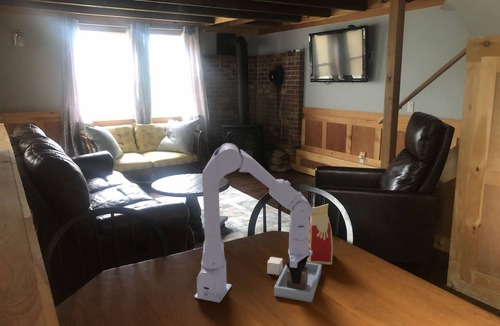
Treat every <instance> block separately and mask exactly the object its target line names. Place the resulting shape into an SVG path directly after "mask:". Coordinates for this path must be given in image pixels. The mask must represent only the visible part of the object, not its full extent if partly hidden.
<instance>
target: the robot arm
mask: <svg viewBox="0 0 500 326" xmlns="http://www.w3.org/2000/svg"><path fill="white" fill-rule="evenodd" d="M237 170H238V172H240V173H249V174H251V175H252V176H253V177H254V178H255V179H256V180H258V181H259V182H261V183H262V184H263V185H265V186H266V187H267V188H268V191H269V193H268V194H269V196H271V197H272V198H273V199H274V200H276V201H277V202H278V204H280V205H282V207H284V208H285V209H287V210H289V211H290V213H289V225H288V226H289V227H288V229H289V232H288V233H289V235H288V236H289V237H288V250H287V252H288V253H287V254H288V255H289V256H288V257H289V258H288V259H286V261H285V265H287V267H288V269H289V271H290V274H291V279H292V282H293V283H296V284H299V283H300V280H301V275H302V271H303V269H304V267H305V265H306V262H308V260H307V259H308V257H309V256H311V255H312V251H310V250H308V245H309V222H310V216H311V214H312V210H311V208H312V206H311V204H310V202H309V201H308V199H307V198H306V197H305V195H303V194H302V192H300V191H297V190H296V189H294V188H293V186H291V182H290V181H288V180H285V179H282V178H277V179H276V178H275V177H274V176H273V175H272V174H271V173H269V171H267V170H266V169H265V168H264V167H263V166H262V165H261V164H260V163H259V162H258V161H256V159H255V158H253V157H252V156H251V155H249V154H248V153H247V152H246V151H244V150H243V149H239V147H238V146H237V145H236V144H234V143H231V142H230V143H229V142H226V143H223V144H221V146H219V147H217V148H216V149H215V151H214V152H213V154H212V155H211V158H210V159H209V160H208V162H207V164H206V165H205V166H204V169H203V170H202V179H201V180H202V198H203V201H202V202H203V217H204V218H203V219H204V220H203V221H204V222H203V223H204V241H203V244H202V256H201V257H202V258H201V262H200V264H201V269H200V271H199V273H198V275H197V278H196V294H194V299H195V298H196V299H199V300H204V301H209V302H210V301H211V302H214V303H220V302H221V301H222V300H224V299H223V298H224V297H225V296H226V295H227V293H228V292H229V291H230V289H231V287H232V284H230V283H227V260H226V258H225V257H226V256H225V250H224V248H225V243H224V240H223V239H222V236H221V214H220V212H221V210H220V186H219V185H220V184H219V182H220V181H221V180H222V179H223V178H224V177H225V176H226V175H228V174H230V173H233V172H235V171H237Z"/></svg>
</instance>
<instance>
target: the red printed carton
mask: <svg viewBox="0 0 500 326" xmlns="http://www.w3.org/2000/svg"><path fill="white" fill-rule="evenodd" d="M311 210H312V214H311V216H310V217H309V245H308V250H310V251H312V255H311V256H309V257H308V259H307V262H308V263H315V264H322V265H331V266H332V265H333V252H334V245H333V243H334V242H333V231H332V226H331V223H330V217H329V215H328V210H329V203H326V204H322V205H320V206H315V207H311Z"/></svg>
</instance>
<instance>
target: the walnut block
mask: <svg viewBox="0 0 500 326" xmlns="http://www.w3.org/2000/svg"><path fill="white" fill-rule="evenodd" d="M307 282H308V267H304V269H303V271H302V275H301V280H300V283H299V284H296V283H293V282H292V279H291V274H290V271H289V269H288V270H287V287H292V288H298V289H303V290H305V288H306V285H307Z"/></svg>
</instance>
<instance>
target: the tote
mask: <svg viewBox="0 0 500 326" xmlns="http://www.w3.org/2000/svg"><path fill="white" fill-rule="evenodd" d="M322 266H323V264H320V263H309V262H308V261H306V265H305V267H308V282H307V285H306V288H305V290H303V289H298V288H292V287H287V270H288V267H287V265H286V264H285V265H284V267H283V268H282V271H281V273H280V275H279V277H278V278H277V281H276V283H275V285H274V286H273V297H279V298H285V299H290V300H295V301H301V302H306V303H313V300H314V297H315V294H316V290H317V288H318V285H319V281H320V278H321V275H322V269H323V268H322Z"/></svg>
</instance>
